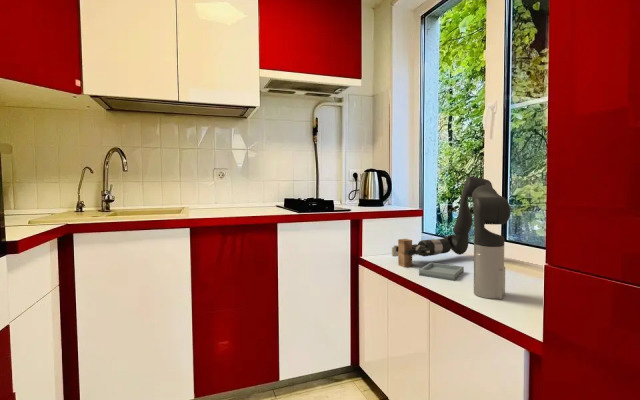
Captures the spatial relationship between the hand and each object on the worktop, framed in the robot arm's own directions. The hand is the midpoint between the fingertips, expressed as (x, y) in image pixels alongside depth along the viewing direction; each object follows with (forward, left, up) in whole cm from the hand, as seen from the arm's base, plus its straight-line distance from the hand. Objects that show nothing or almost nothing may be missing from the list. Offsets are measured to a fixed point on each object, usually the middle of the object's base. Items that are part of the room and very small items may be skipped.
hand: (401, 251), depth 158 cm
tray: (-19, +3, -7) cm, 20 cm away
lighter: (+10, -20, -7) cm, 23 cm away
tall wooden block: (-1, -2, -7) cm, 7 cm away
